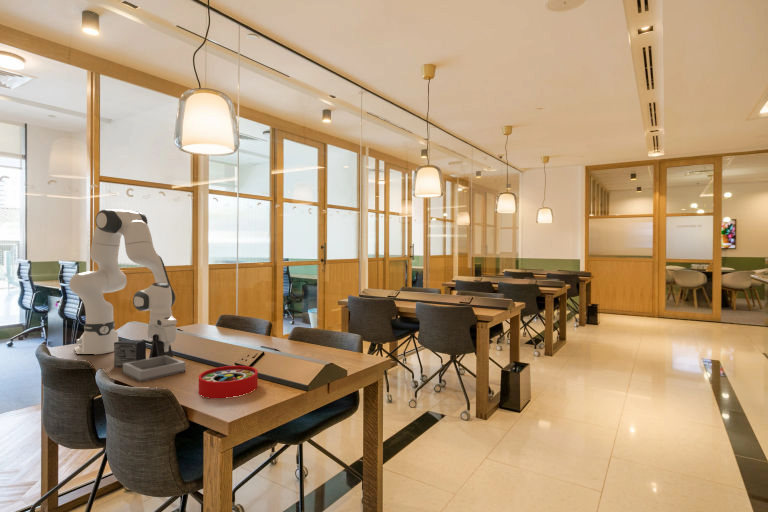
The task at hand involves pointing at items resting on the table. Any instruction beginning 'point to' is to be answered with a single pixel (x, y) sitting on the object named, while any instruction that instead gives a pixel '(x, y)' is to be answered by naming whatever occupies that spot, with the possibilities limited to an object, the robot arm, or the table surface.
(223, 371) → the toy clock
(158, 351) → the door stopper
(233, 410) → the table surface
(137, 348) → the small box
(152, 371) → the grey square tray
